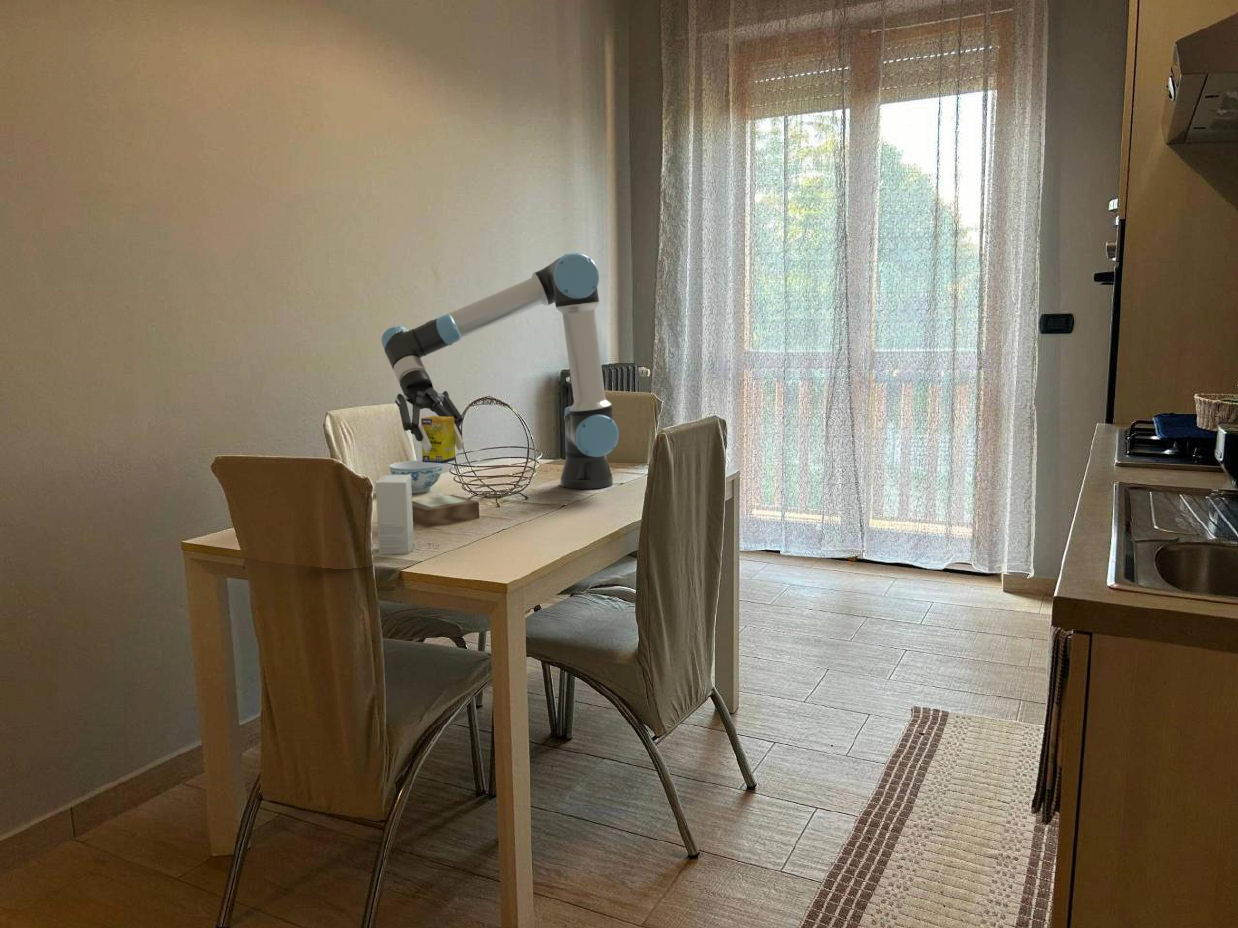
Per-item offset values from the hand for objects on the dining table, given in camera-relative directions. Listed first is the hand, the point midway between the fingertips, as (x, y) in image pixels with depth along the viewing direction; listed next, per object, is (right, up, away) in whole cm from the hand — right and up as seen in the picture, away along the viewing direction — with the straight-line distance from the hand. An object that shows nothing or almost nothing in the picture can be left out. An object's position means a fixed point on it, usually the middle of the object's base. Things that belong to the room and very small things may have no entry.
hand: (445, 448), depth 223 cm
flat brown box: (-1, -17, +3) cm, 17 cm away
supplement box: (-2, -3, +3) cm, 5 cm away
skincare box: (-5, -22, -28) cm, 36 cm away
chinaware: (-15, -12, +40) cm, 44 cm away
